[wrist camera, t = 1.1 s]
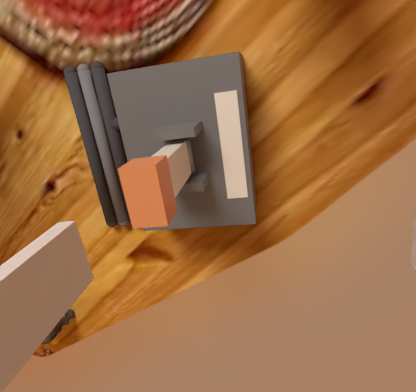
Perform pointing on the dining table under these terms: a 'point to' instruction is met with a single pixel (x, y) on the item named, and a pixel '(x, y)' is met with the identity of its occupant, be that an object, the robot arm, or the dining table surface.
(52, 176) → the dining table surface
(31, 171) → the dining table surface
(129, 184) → the toggle lever
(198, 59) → the switch block
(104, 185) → the cable bundle
